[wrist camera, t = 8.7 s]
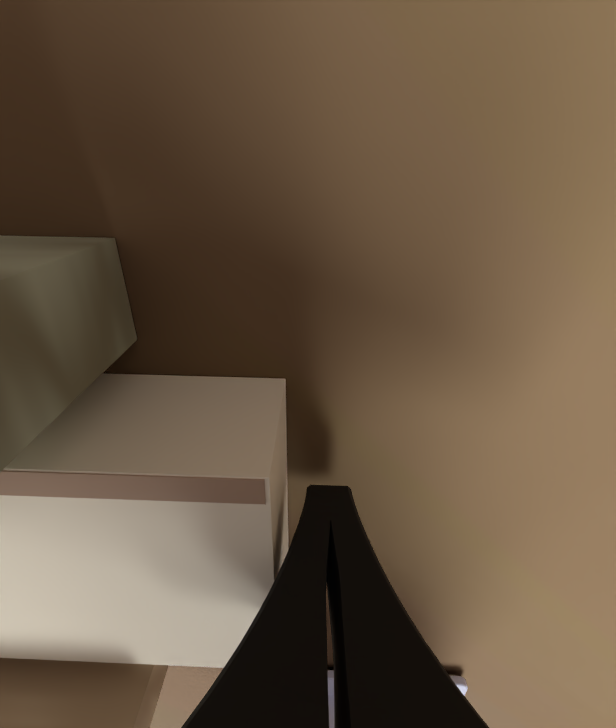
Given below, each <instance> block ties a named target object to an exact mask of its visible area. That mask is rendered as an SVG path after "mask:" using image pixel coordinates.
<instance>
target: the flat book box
mask: <svg viewBox="0 0 616 728" xmlns="http://www.w3.org/2000/svg"><path fill="white" fill-rule="evenodd" d="M288 550H289V547H288V488H287V429H286V379H282V378H246V377H210V376H174V375H138V374H103V373H102V374H101V375H100V376H99V377H98V378H97V379H96V380H95V381H94V382H93V383H92V384H91V385H90V386H89V387H88V388H87V389H86V390H85V391H84V392H83V393H82V394H81V395H80V396H78V397H77V398H76V399H75V400H74V401H73V402H72V403H71V404H70V405H69V406H68V407H67V408H66V409H65V410H64V411H63V412H62V413H61V414H60V415H59V416H58V417H57V418H56V419H55V420H54V421H53V422H52V423H51V424H50V425H49V426H47V427H46V428H45V429H44V430H43V431H42V432H41V433H40V434H39V435H38V436H37V437H36V438H35V439H34V440H33V441H32V442H31V443H30V444H29V445H28V446H27V447H26V448H25V449H24V450H23V451H22V452H21V453H20V454H19V455H18V456H16V457H15V458H14V459H13V460H12V461H11V462H10V463H9V464H8V465H7V466H6V467H5V468H4V469H3V470H2V471H1V472H0V658H16V659H39V660H61V661H83V662H106V663H128V664H150V665H173V666H195V667H217V668H224V667H225V665H226V664H227V662H228V661H229V659H230V658H231V656H232V655H233V653H234V652H235V650H236V649H237V647H238V645H239V644H240V642H241V640H242V639H243V637H244V636H245V634H246V632H247V630H248V629H249V627H250V625H251V624H252V622H253V620H254V618H255V617H256V615H257V613H258V611H259V610H260V608H261V606H262V604H263V602H264V600H265V598H266V597H267V595H268V593H269V591H270V589H271V587H272V585H273V583H274V581H275V579H276V577H277V575H278V572H279V570H280V568H281V566H282V564H283V561H284V559H285V557H286V555H287V552H288Z"/></svg>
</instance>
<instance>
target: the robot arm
mask: <svg viewBox="0 0 616 728" xmlns="http://www.w3.org/2000/svg"><path fill="white" fill-rule="evenodd" d="M326 585H327V588H328V600H329V611H330V622H331V633H332V644H333V662H334V670H328V669H327V628H326ZM467 689H468V687H467V683H466V680H465V679H464V678H463V677H461V676H452V675H448V673H447V672H446V670H445V669H444V668H443V666H442V665H441V663H440V662H439V660H438V659H437V657H436V656H435V655H434V653H433V652H432V650H431V649H430V647H429V646H428V645H427V643H426V642H425V640H424V639H423V637H422V636H421V634H420V633H419V631H418V629H417V628H416V626H415V625H414V623H413V622H412V620H411V618H410V617H409V615H408V613H407V612H406V610H405V608H404V607H403V605H402V603H401V602H400V600H399V598H398V597H397V595H396V593H395V591H394V589H393V588H392V586H391V584H390V582H389V580H388V578H387V576H386V575H385V573H384V571H383V569H382V567H381V565H380V563H379V561H378V559H377V557H376V555H375V552H374V550H373V548H372V546H371V544H370V541H369V539H368V537H367V535H366V532H365V530H364V528H363V525H362V522H361V520H360V517H359V515H358V512H357V509H356V506H355V503H354V499H353V496H352V492H351V489H350V488H349V487H348V486H330V485H310V486H309V487H307V493H306V498H305V503H304V507H303V511H302V514H301V517H300V520H299V524H298V526H297V529H296V532H295V534H294V537H293V540H292V542H291V545H290V548H289V550H288V552H287V555H286V557H285V559H284V561H283V564H282V566H281V568H280V570H279V572H278V575H277V577H276V579H275V581H274V583H273V585H272V587H271V589H270V591H269V593H268V595H267V597H266V598H265V600H264V602H263V604H262V606H261V608H260V610H259V611H258V613H257V615H256V617H255V618H254V620H253V622H252V624H251V625H250V627H249V629H248V630H247V632H246V634H245V636H244V637H243V639H242V640H241V642H240V644H239V645H238V647H237V649H236V650H235V652H234V653H233V655H232V656H231V658H230V659H229V661H228V662H227V664H226V665H225V667H224V668H223V670H222V671H221V673H220V674H219V676H218V677H217V679H216V680H215V682H214V683H213V685H212V686H211V688H210V689H209V691H208V692H207V693H206V695H205V696H204V698H203V699H202V700H201V702H200V703H199V704H198V706H197V707H196V708H195V710H194V711H193V712H192V714H191V715H190V717H189V718H188V719H187V721H186V722H185V723H184V725H183V726H182V727H181V728H489V727H488V726H487V724H486V723H485V722H484V721H483V719H482V718H481V717H480V716H479V714H478V713H477V712H476V711H475V709H474V708H473V707H472V705H471V704H470V703H469V701H468V700H467V699H466V698H465V694H466V691H467Z"/></svg>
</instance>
